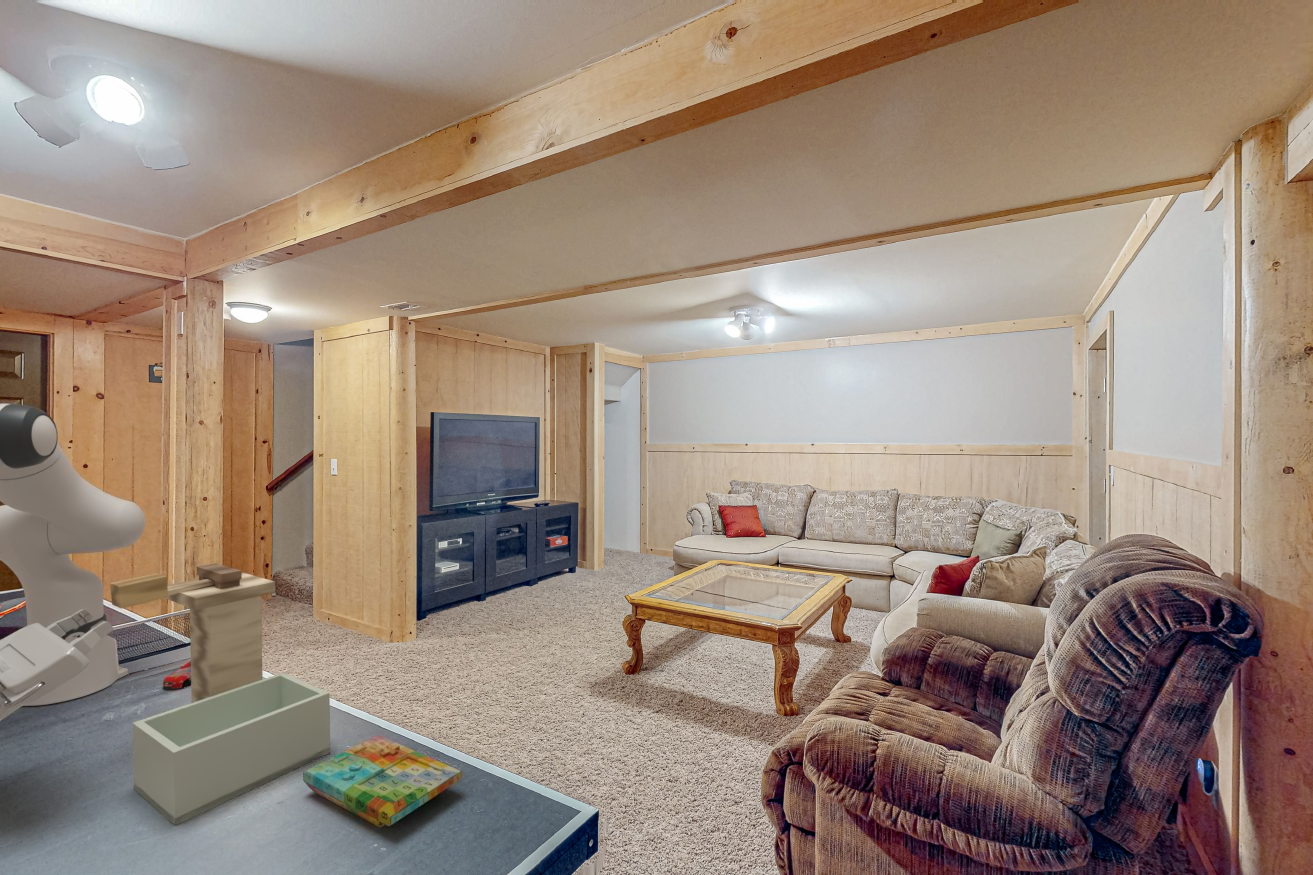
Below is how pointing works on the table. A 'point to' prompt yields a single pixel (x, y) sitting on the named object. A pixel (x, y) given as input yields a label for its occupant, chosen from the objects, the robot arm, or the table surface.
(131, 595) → the tan wooden bar
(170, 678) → the race car
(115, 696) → the table surface
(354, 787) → the puzzle game
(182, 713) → the bin
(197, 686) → the stand
